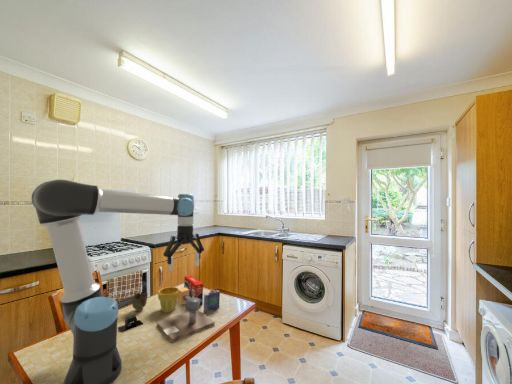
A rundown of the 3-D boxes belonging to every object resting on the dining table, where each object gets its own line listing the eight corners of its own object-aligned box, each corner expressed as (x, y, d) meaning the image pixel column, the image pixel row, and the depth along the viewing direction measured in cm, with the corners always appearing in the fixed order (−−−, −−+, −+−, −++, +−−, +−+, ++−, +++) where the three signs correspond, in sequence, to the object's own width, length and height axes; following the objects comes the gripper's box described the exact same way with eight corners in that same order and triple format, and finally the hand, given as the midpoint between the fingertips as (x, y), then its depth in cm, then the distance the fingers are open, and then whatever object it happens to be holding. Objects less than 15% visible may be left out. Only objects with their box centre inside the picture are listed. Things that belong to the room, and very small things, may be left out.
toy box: (202, 305, 126) (203, 283, 127) (195, 307, 124) (196, 285, 124) (190, 294, 141) (190, 274, 141) (183, 295, 138) (184, 276, 139)
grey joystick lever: (202, 309, 105) (202, 296, 106) (189, 313, 101) (190, 300, 102) (187, 298, 116) (187, 286, 117) (175, 302, 112) (176, 289, 113)
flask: (205, 313, 117) (205, 292, 118) (202, 311, 119) (202, 290, 120) (220, 308, 123) (220, 287, 124) (217, 306, 126) (217, 286, 126)
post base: (170, 343, 92) (171, 323, 93) (155, 325, 105) (156, 308, 105) (214, 325, 106) (214, 308, 107) (196, 311, 119) (197, 296, 119)
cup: (140, 315, 114) (140, 298, 115) (127, 313, 116) (128, 297, 116) (150, 308, 122) (150, 292, 122) (137, 306, 123) (138, 291, 123)
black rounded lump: (141, 319, 112) (141, 309, 112) (148, 324, 107) (148, 314, 107) (112, 329, 102) (113, 319, 103) (118, 336, 97) (118, 325, 98)
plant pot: (166, 316, 114) (166, 296, 114) (153, 310, 119) (154, 291, 120) (182, 308, 123) (183, 289, 123) (170, 303, 128) (170, 285, 128)
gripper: (203, 222, 125) (203, 262, 125) (156, 226, 109) (155, 271, 108) (211, 224, 120) (210, 265, 119) (162, 227, 103) (161, 275, 102)
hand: (184, 268), depth 114 cm, fingers open, 13 cm apart
